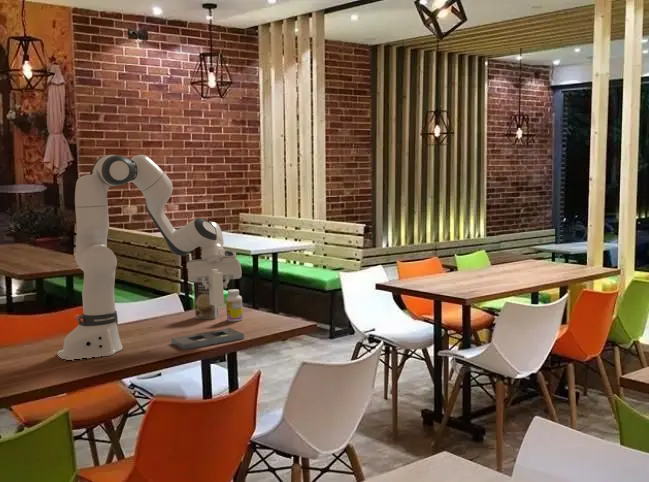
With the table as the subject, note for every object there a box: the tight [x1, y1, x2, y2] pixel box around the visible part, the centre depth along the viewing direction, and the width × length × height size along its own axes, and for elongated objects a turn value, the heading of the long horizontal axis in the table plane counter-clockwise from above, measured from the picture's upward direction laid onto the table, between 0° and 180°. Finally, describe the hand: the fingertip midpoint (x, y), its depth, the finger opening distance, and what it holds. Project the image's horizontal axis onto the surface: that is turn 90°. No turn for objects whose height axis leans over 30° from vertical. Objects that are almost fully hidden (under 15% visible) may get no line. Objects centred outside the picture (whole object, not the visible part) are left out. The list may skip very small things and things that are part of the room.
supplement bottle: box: [225, 288, 244, 323], centre depth 298 cm, size 7×7×13 cm
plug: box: [208, 269, 225, 306], centre depth 266 cm, size 4×4×13 cm
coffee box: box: [193, 281, 219, 320], centre depth 305 cm, size 9×6×16 cm
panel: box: [171, 327, 245, 351], centre depth 265 cm, size 24×12×2 cm, turn 123°
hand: (216, 288), depth 265 cm, fingers closed on plug, 5 cm apart
